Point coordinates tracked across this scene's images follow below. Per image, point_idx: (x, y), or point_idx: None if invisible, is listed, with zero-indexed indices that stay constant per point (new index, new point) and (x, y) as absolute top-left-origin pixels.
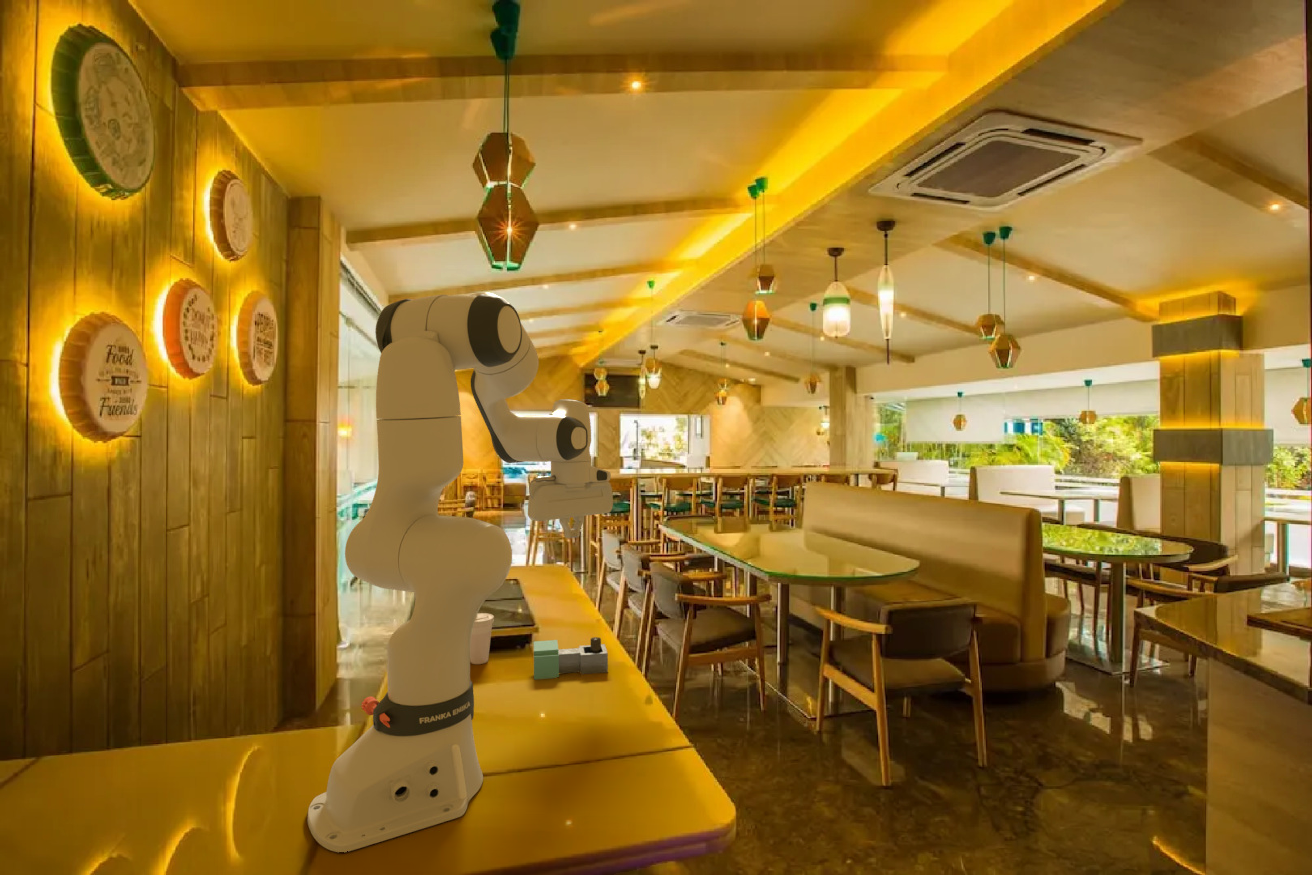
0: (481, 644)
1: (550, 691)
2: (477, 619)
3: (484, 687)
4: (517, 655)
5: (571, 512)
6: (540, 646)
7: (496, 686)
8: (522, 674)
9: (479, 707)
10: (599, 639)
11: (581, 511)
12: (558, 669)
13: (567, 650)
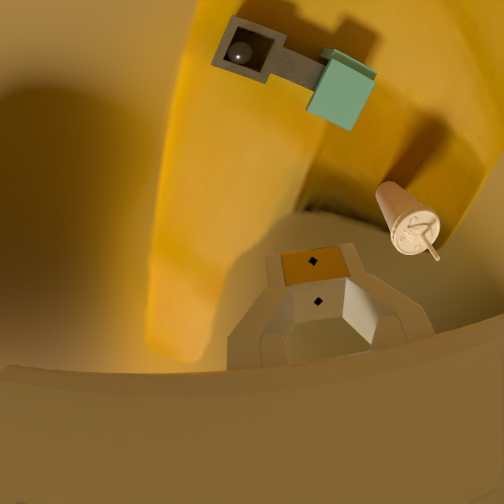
0: (406, 193)
1: (360, 11)
2: (426, 224)
3: (428, 95)
4: (333, 180)
5: (418, 379)
6: (353, 97)
7: (415, 86)
8: None
9: (455, 44)
10: (234, 45)
11: (283, 404)
12: (327, 48)
13: (298, 74)
